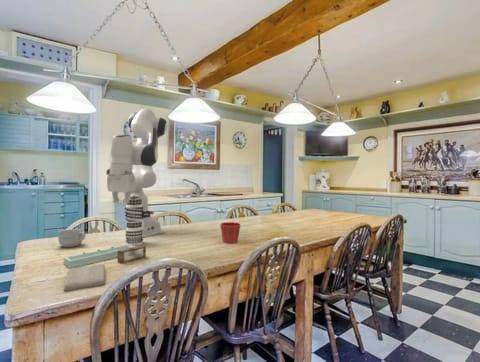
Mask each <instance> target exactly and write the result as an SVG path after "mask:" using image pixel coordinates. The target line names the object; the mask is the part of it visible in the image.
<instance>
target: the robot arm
mask: <svg viewBox="0 0 480 362" xmlns="http://www.w3.org/2000/svg"><path fill="white" fill-rule="evenodd" d="M127 124H128V127H129V129H130V131H131V132H132V134H133V135H134V137H136V138H137V140H136V142H135V143H136V144H133V137H132V135H130V134H115V135H113V137H112V139H111V148H110V156H111V160H110V166H109V168H108V169H107V170H106V171H105V173H106V175H107V178H106V187H107V191H108V192H111V193H112V198H113V201H112V202H113V203H119V202H120V201H119V200H120V198H119V195H118V194H119V193H123V194H124V198H123V199H122V203H123V204H125V205H126V204H128V203H129V198H130V196H133V195H137V196H140V197H141V198H142V207H143V209H141V210H143V212H141V213H142V214H143V216H142V217H143V219H142V220H143V221H142V230H143V231H142V232H143V234H142V236H143V238H145V237H151V236H156V235H159V234H163V233H165V230H164V229H163V228H162V227H161V223H160V222H159V221H158V220H157V219H156V218H154V217H153V216H154V214H155V211H153V210H149V198H148V196H147V195H146V193H145V192H144V189H147V188H150V187H151V188H152V187H153V186H154V185H155V184H156V183H157V175H156V173H155V171H154V169H153V166H154V165H155V164H156V163H157V162H158V158H159V155H158V148H159V147H158V144H159V138H160V137H163V136H164V135H165V134H166V133H167V130H168V122H167V120H166V118H164V117H163V118H162V117H159V116H156V115H155V113H154V112H153V110H151V109H149V108H142V109H140V110H138V112H132V113H131V114H130V115H129V117H128V118H127ZM134 166H135V169H134V168H133V167H134ZM151 215H153V216H151Z"/></svg>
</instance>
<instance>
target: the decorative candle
mask: <svg viewBox="0 0 480 362" xmlns="http://www.w3.org/2000/svg"><path fill="white" fill-rule="evenodd" d="M141 209H143V207H142V198H141V197H140V196H137V195H133V196H130V198H129V203H128V204H125V207H124V210H125V211H124V217H125V223H126V227H125V228H126V230H125V239H126V240H125V242H126V243H125V245H131V246H133V247H135V246H141V245H143V244H144V242H143V241H144V239H143V238H144V237H143V236H142V234H143V232H142V231H143V230H142V221H143V220H142V219H143V217H142V216H143V214H142V213H141V212H143V210H141Z"/></svg>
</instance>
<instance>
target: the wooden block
mask: <svg viewBox="0 0 480 362" xmlns="http://www.w3.org/2000/svg"><path fill="white" fill-rule="evenodd" d="M145 258H147V248H146V246H145V245H143V244H140V245H136V246H133V247H132V248H127V249H123V250H118V257H117V263H118V264H125V263H130V262H134V261H137V260H140V259H145Z"/></svg>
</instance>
